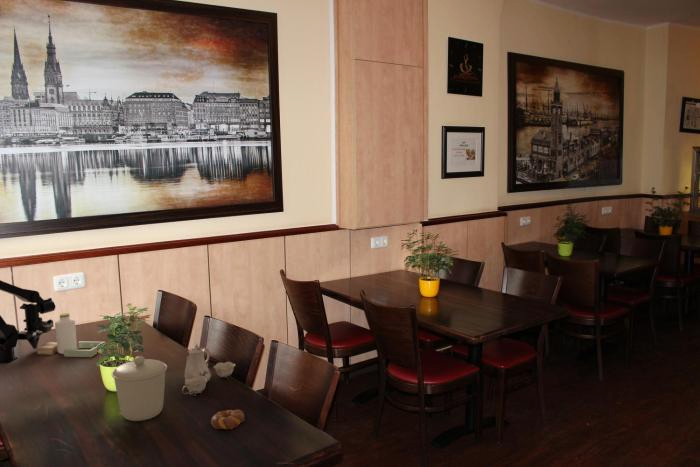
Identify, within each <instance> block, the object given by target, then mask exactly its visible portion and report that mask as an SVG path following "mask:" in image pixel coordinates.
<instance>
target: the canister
mask: <svg viewBox="0 0 700 467" xmlns="http://www.w3.org/2000/svg"><path fill="white" fill-rule="evenodd" d="M167 369H168V365H167V363H165V362H163V361H161V360H158V359H151V358H147V359H146V358H145V357H144V356H142V355H138V356H136V357H135V358H134V359H133V360H131V361H128V362H125V363H122V364H120V365H119V366H117V367H115V369H113V370H112V372H111V377H112V378H113V380H114V384H115V392H116V396H117V400H118V404H119V408H120V413H121V415H122V417H123V418H124V419H126V420H128V421H132V422H141V421H147V420H151V419H152V418H154V417H157V416H158V415H159V414H160V413H161V412H162V410H163V407H164V398H165V386H166V385H165V383H166V382H165V381H166V371H167Z"/></svg>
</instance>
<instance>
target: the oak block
mask: <svg viewBox="0 0 700 467" xmlns="http://www.w3.org/2000/svg"><path fill="white" fill-rule="evenodd" d="M36 349H37V355H54V354H55V353H58V351H57V341H56V342H53V341H48V342H46V343H44V344H42V345H39V346H37V348H36Z"/></svg>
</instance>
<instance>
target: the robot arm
mask: <svg viewBox="0 0 700 467" xmlns="http://www.w3.org/2000/svg"><path fill="white" fill-rule="evenodd" d="M0 291H1V292H5V293H7V294H9V295H13V296H15V297H16V298H17V299H19V300H20V301H22V304H21V306H20V307H19V309H20V310H24V317H25V318H24V319H23V323H25V328H24V330H23V331H22V330H21V331H19V330H18V329H17V327H16V326H15V325H14V324H9V323H7V322H6V321H5V320H4V318H3V316H2V315H1V314H0V363H5V364H6V363H11V362H13V361H15V360H16V359H18V356H15V348H16V347H17V344H18V341H21V340H22V341H23V340H24V341H27V342H28V343H29V344H30V347H32V349H33V350H36V349H37V347H38V345H39V341H40V338H41V336H42V335H43V334H47V333H48V332H51V330H52V328H53V327H55V326H54V325H55V324H54V320H53V319H48V320H45V321H44V320H43V318H42V317H41V316H40V315H45V314H48V313H52V312H54V311H55V310H56V304H55V302H54V300H53V299H52V298H51V297H47V298H45V299H43V298H42V296H41V295H40V292H39V291H37V290H32V289H28V288H27V289H26V288H21V287H19V286H16V285H14V284H12V283H8V282H5V281H3V280H1V279H0ZM23 302H24V303H23ZM27 303H28V304H27Z"/></svg>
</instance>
